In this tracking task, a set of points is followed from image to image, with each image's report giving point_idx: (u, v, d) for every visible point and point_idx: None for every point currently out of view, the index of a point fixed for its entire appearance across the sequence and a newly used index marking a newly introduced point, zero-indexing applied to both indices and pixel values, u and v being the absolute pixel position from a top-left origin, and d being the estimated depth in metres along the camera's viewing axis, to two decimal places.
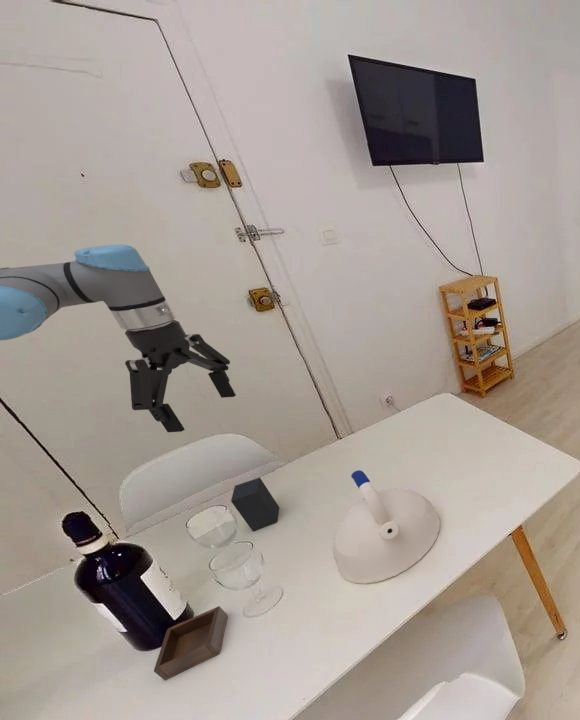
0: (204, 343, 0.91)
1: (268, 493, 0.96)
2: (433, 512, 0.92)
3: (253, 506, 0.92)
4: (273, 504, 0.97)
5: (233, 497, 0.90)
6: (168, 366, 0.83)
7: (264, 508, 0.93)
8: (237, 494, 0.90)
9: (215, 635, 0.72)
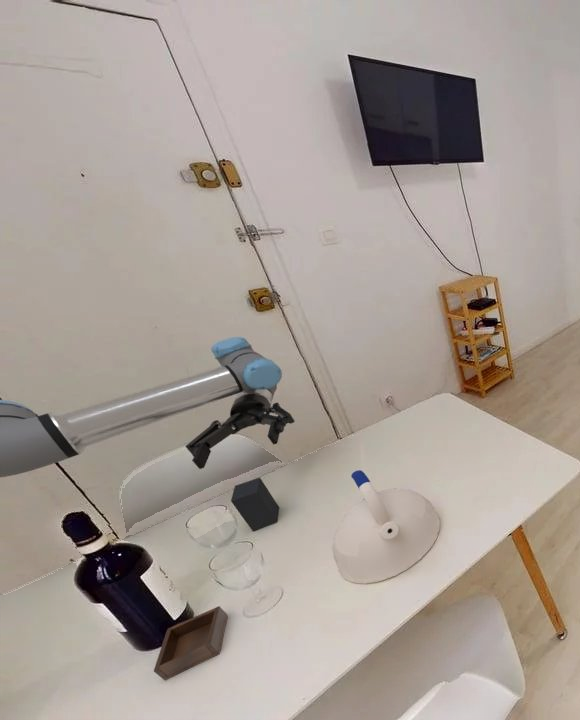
0: None
1: (268, 493, 0.96)
2: (433, 512, 0.92)
3: (253, 506, 0.92)
4: (273, 504, 0.97)
5: (233, 497, 0.90)
6: None
7: (264, 508, 0.93)
8: (237, 494, 0.90)
9: (215, 635, 0.72)
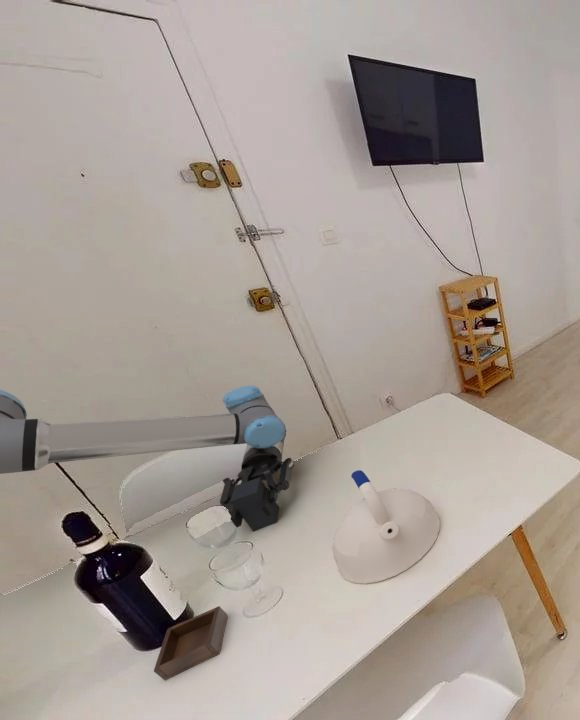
0: None
1: None
2: (433, 512, 0.92)
3: (253, 506, 0.92)
4: (273, 504, 0.97)
5: (233, 497, 0.90)
6: None
7: None
8: (237, 494, 0.90)
9: (215, 635, 0.72)
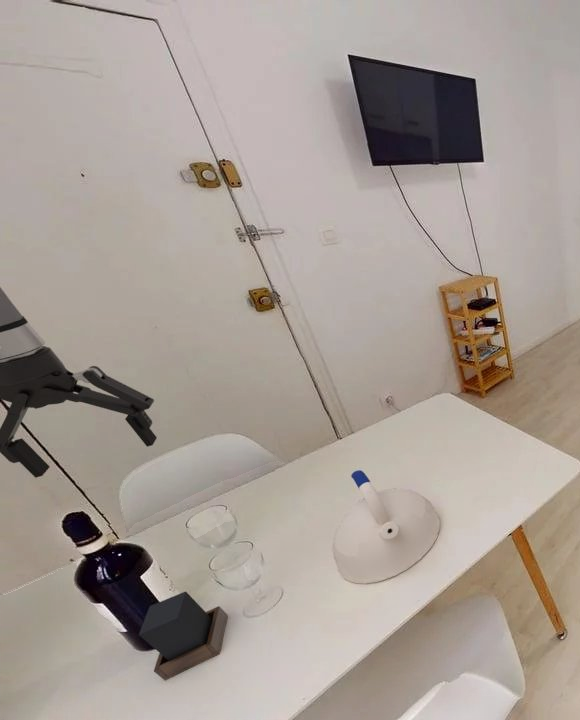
0: (100, 383, 0.70)
1: (198, 610, 0.72)
2: (433, 512, 0.92)
3: (174, 636, 0.67)
4: (206, 624, 0.73)
5: (143, 628, 0.65)
6: (14, 407, 0.65)
7: (190, 636, 0.69)
8: (150, 622, 0.66)
9: (215, 635, 0.72)
